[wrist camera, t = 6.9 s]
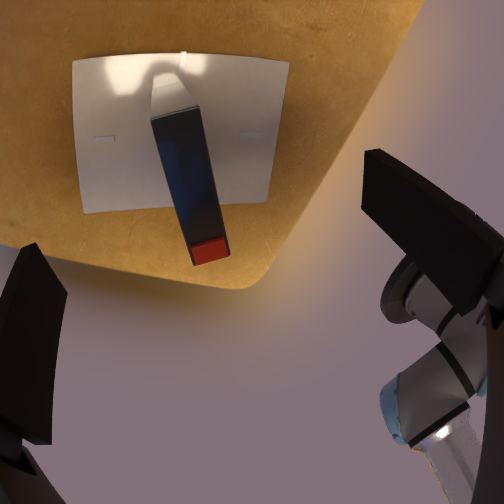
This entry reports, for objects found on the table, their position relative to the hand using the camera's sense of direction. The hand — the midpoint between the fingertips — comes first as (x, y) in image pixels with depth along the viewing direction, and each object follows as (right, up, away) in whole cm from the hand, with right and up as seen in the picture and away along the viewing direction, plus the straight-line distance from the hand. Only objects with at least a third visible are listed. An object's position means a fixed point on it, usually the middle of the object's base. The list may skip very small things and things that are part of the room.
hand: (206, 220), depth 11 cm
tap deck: (-4, +8, +10) cm, 14 cm away
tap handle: (-3, +6, +8) cm, 11 cm away
